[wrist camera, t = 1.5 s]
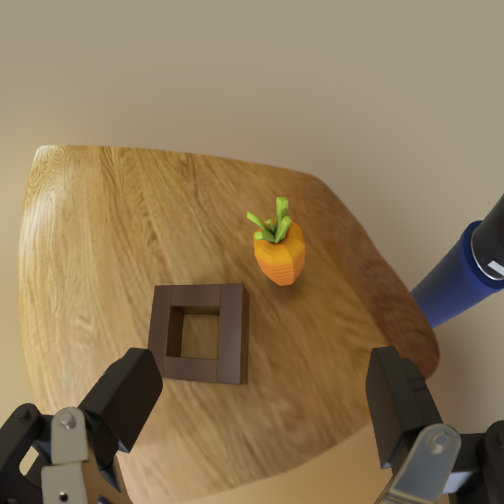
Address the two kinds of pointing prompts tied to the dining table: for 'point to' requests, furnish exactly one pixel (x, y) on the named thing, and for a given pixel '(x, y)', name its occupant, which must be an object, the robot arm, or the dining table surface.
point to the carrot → (279, 245)
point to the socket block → (229, 337)
